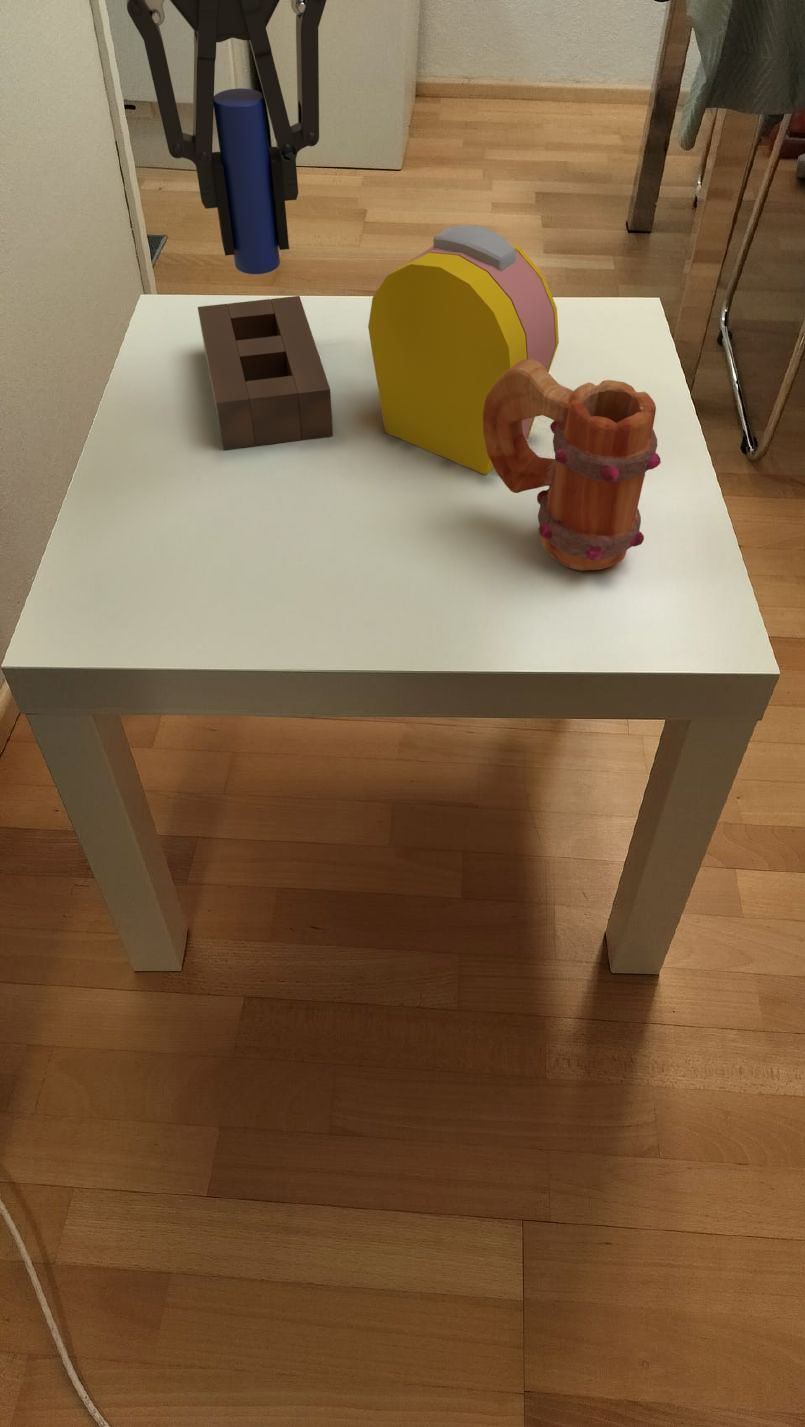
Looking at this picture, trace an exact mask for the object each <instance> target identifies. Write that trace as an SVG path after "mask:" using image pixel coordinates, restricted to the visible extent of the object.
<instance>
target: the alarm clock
mask: <svg viewBox="0 0 805 1427" xmlns="http://www.w3.org/2000/svg"><path fill="white" fill-rule="evenodd" d="M551 292H552V291H551V290H550V287H549V284H548V282H547V279H546V277H545V275H544V274H543V273H542V271H541V270H540V269H539V268H538V267H537V266H536V265H535V263H534V261H532V259H531V258H530V257H529V256H528V255H527V254H526V252H525V251H524V250H523V249H522V248H521V247H520V246H518V245H517V244H514V243H513V242H511V241H509V240H507V239H506V238H505V237H504V236H502V235H500V234H499V233H498V232H496V231H494V230H492V229H490V228H489V227H486V226H481V225H474V224H460V225H454V226H449V227H447V228H446V229H444V230H442V231H441V232H440V233H438V234H436V235H434V236H433V245H432V246H431V247H429V248H427V249H426V250H424V251H423V252H422V253H420V254H419V255H417V256H415V257H414V258H412V259H411V260H408V261H407V262H406V263H404V264H402V265H401V266H399V267H398V268H396V269H395V270H394V271H392V272H390V273H389V274H387V275H386V277H385V278H384V280H383V281H382V282H381V285H380V286H379V288H378V289H377V290H376V292H375V293H374V294H373V296H372V300H371V306H370V311H369V312H370V313H369V319H368V325H367V328H368V329H367V330H368V335H369V341H370V346H371V354H372V359H373V366H374V371H375V377H376V378H375V379H376V382H377V383H376V384H377V389H378V396H379V402H380V403H379V404H380V408H381V415H382V421H383V426H384V432H385V433H387V434H388V435H390V436H393V437H396V438H398V439H401V440H402V441H405V442H408V443H409V444H412V445H414V446H417V447H418V448H420V449H421V448H422V449H424V450H425V451H428V452H431V453H433V454H435V455H438V456H440V457H442V458H445V459H448V460H450V461H451V462H454V463H457V464H459V465H461V466H463V467H466V468H469V469H471V470H473V471H475V472H477V473H480V474H483V475H485V476H487V475H488V474H489V473H490V472H491V471H493V469H495V468H494V466H493V464H492V462H491V460H490V458H489V456H488V454H487V450H486V444H485V439H484V434H483V410H484V404H485V400H486V397H487V395H488V394H489V392H490V390H491V388H492V387H493V385H494V384H495V382H496V381H497V380H499V379H500V378H501V376H502V375H503V373H504V372H507V371H508V370H509V369H510V368H511V367H513V366H514V365H515V364H517V363H518V362H520V361H521V360H526V359H532V360H535V361H538V362H539V363H541V364H542V365H543V366H544V368H545V369H546V370H547V372H548V373H549V374H550V370H551V367H552V364H553V360H554V358H555V355H556V352H557V349H558V346H559V342H560V340H559V320H558V308H557V305H556V303H555V300H554V298H553V295H552V293H551ZM535 418H536V417H532V418H528V419H524V420H522V428H523V435H524V437H525V439H526V440H527V439H528V438H529V437H530V434H531V431H532V428H533V425H534V421H535Z"/></svg>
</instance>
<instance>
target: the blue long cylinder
mask: <svg viewBox="0 0 805 1427" xmlns="http://www.w3.org/2000/svg"><path fill="white" fill-rule="evenodd" d="M213 113H214V119H215V125H216V134H217V141H218V149H219V152H220V157H221V160H222V164H223V169H224V176H225V184H226V192H227V199H228V207H229V214H230V222H231V229H232V237H233V245H234V252H235V255H233V260H234V266H235V268H236V269H237V270H238V272H241V273H244V274H248V275H264V274H268V273H271V272H273V271H275V270H277V269H278V268H279V266H280V265H281V259H280V258H281V257H280V249H279V246H278V238H277V228H276V218H275V208H274V198H273V188H272V178H271V168H270V158H269V147H270V146H269V138H268V137H269V136H268V127H267V118H266V117H267V116H266V108H265V98H264V94H263V92H260V91H258V90H255V89H252V88H242V87H241V88H230V89H225V90H222V91H219V92H217V93H216V94H214V111H213Z"/></svg>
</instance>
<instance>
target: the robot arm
mask: <svg viewBox="0 0 805 1427" xmlns="http://www.w3.org/2000/svg"><path fill="white" fill-rule="evenodd" d="M169 1H170V3H172V5H173V6H174V8H175V9H176V10H177V11H178V12H179V14H180V15H181V16H182V17H183V19H184V20H185V21H186V22H187V24H188V25H189V26H190V28H191V29H192V30H193V49H194V50H193V91H192V92H193V94H192V96H193V98H192V99H193V100H192V134H189V133H186V132H183V129H182V124H181V119H180V115H179V110H178V106H177V102H176V97H175V92H174V88H173V87H174V86H173V83H172V77H171V73H170V68H169V63H168V59H167V54H166V50H165V45H164V44H165V43H164V39H163V36H162V32H161V28H160V26H161V25H162V24H164V22H165V11H164V2H165V0H125V2H126V11H127V13H128V15H129V17H130V19H131V21H132V22H133V24H134V26H135V27H136V29H137V31H138V33H139V35H140V37H141V38H142V40H143V43H144V48H145V52H146V57H147V61H148V65H149V71H150V74H151V78H152V83H153V88H154V91H155V92H154V93H155V96H156V101H157V104H158V110H159V114H160V118H161V122H162V127H163V132H164V136H165V140H166V145H167V149H168V153H169V155H170V156H171V157H172V158H174V159H181V158H182V159H186V160H188V161H191V162H192V163H193V164H194V165H195V169H196V176H197V182H198V187H199V195H200V200H201V203H202V205H203V207H204V209H205V210H207V209H216V210H217V217H218V222H219V223H218V224H219V231H220V237H221V243H222V248H223V253H224V256H225V257H227V256H234V255H235V252H234V245H233V237H232V229H231V222H230V214H229V207H228V199H227V192H226V184H225V176H224V169H223V164H222V160H221V157H220V151H213V139H214V138H213V137H214V96H215V73H216V72H215V71H216V60H217V43H223V42H226V41H227V40H230V39H236V40H241V41H248V42H249V45H250V49H251V52H252V57H253V60H254V64H255V67H256V71H257V75H258V78H259V83H260V86H261V90H262V95H263V96H264V103H265V105H266V110H267V113H268V116H269V120H270V125H271V128H272V132H273V136H274V139H275V144H276V146H269V158H270V168H271V178H272V188H273V198H274V208H275V218H276V228H277V238H278V247H279V251H284V250H290V243H289V242H290V241H289V232H288V221H287V220H288V219H287V210H286V201H287V202H288V201H297V199H298V195H299V183H298V171H297V170H298V169H297V156H298V153H299V152H300V151H301V150H303V149H305V148H306V147H315V146H316V145H317V144H318V143H319V140H320V92H319V91H320V76H319V75H320V74H319V73H320V72H319V71H320V68H319V67H320V66H319V65H320V64H319V62H320V60H319V54H320V53H319V27H320V25H321V24H320V23H321V20H322V16H323V14H324V11H325V7H326V3H327V0H289V4H290V7H291V9H292V11H293V12H294V14H295V51H296V96H297V98H296V99H297V122H296V123H293V124H292V125H291V123H290V120H289V116H288V112H287V108H286V103H285V100H284V96H283V92H282V88H281V85H280V81H279V80H280V79H279V75H278V72H277V67H276V64H275V60H274V55H273V51H272V46H271V43H270V39H269V34H268V31H267V27H268V25H269V22H270V21H271V19H272V17H273V15H274V13H275V11H276V9H277V7H278V5H279V2H280V1H281V0H169Z"/></svg>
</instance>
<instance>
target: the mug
mask: <svg viewBox="0 0 805 1427" xmlns="http://www.w3.org/2000/svg"><path fill="white" fill-rule="evenodd" d="M656 412H657V406H656V403H655V400H653V398H652V397H651V395H649V393H647V391H636V390H635V388H634V387H633V386H632V385H630V384H628V383H627V382H625V381H621V380H620V381H619V380H612V379H604V380H602V381H601V382H600V383H599V384H597V385H596V384H594V383H593V382H586V383H584V384H582V385H579V386H577V388H576V389H574V390H573V389H571V388H568V387H566V386H564V385H562V384H560V383H559V382H558V381H557V380H556V379H555V378H554V377H553V376H552V375H551V374H550V372H549V373H548V372H547V370H546V369H545V368H544V366H543V365H542V364H541V363H539V362H538V361H535V360H532V359H526V360H521V361H520V362H518V363H517V364H515V365H514V366H513V367H511V368H510V369H509V370H508V371H507V372H504V373H503V375H502V376H501V378H500V379H499V380H497V381H496V382H495V384H494V385H493V387H492V388H491V390H490V392H489V394H488V395H487V397H486V400H485V404H484V410H483V434H484V439H485V444H486V450H487V454H488V456H489V458H490V460H491V462H492V464H493V466H494V468H493V469H494V470H495V472H496V474H497V475H498V477H499V478H500V479H501V481H502V482H503V484H504V485H505V486H506V487H507V489H508V490H509V491H510V492H512V493H514V494H519V493H521V492H525V491H530V490H534V489H539V488H543V487H548V489H543V490H541V491H539V492H538V493H537V496H536V501H537V503H538V504H539V510H538V514H537V521H538V531H539V532H538V534H539V536H538V538H539V542H540V543H541V545H542V546H543V548H544V550H545V552H546V553H547V555H549V556H551V558H553V559H554V560H555V561H557V563H559V564H560V565H562V566H564V567H566V568H569V569H572V570H577V571H597V570H603V569H607V568H610V567H613V566H615V565H617V564H618V563H620V562H622V561H623V560H624V559H625V557H626V556H627V551H628V550H630V548H632V547H637V546H640V545H642V544H643V542H644V540H645V536H644V534H643V533H642V532H641V531H640V530H641V529H640V528H641V523H642V516H641V513H640V509H639V508H638V507H639V503H640V499H641V493H642V490H643V485H644V482H645V476H646V473H647V472H648V471H650V470H654V469H655V468H657V467H659V466H660V465H661V463H662V461H661V457H660V456H659V453H657V449H658V437H657V434H656V432H655V430H654V425H655V420H656V419H655V418H656ZM540 416H541V417H542V416H543V417H545V418H548V419H550V420H552V422H551V424H550V425H549V427H550V428H549V429H550V431H551V433H552V434H553V438H552V446H553V447H552V448H553V452H554V458H552V457H551V458H550V457H549V458H548V457H540V456H538V454H537V453H536V452H535V451H534V450H533V449H532V448H531V447H530V445H529V443H528V441H527V439H525V437H524V435H523V428H522V420H524V419H528V418H532V417H535V418H537V417H540Z"/></svg>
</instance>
